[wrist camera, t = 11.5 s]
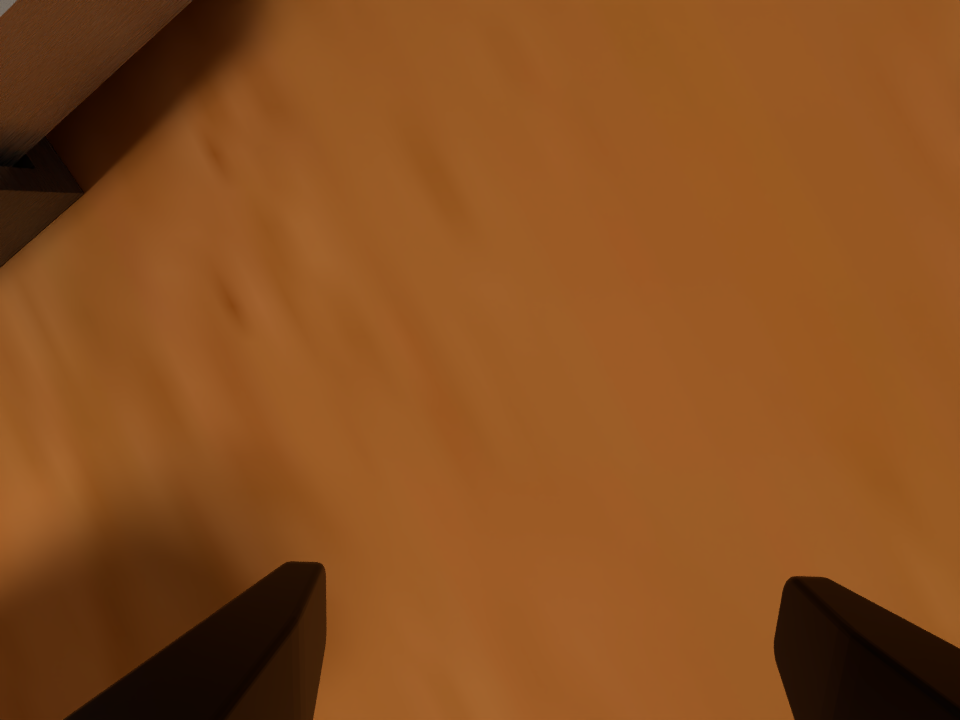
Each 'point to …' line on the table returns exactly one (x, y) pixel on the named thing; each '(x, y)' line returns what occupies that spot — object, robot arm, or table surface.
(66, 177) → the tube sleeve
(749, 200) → the table surface
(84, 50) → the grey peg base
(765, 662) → the table surface
